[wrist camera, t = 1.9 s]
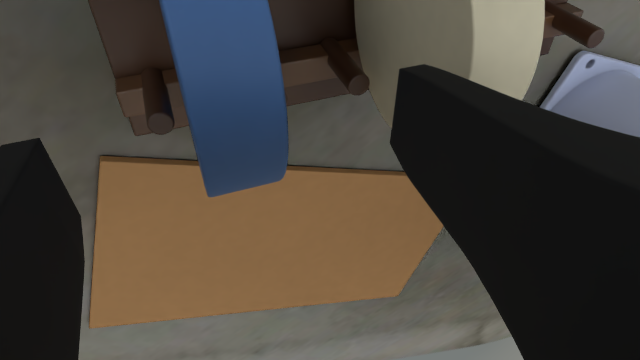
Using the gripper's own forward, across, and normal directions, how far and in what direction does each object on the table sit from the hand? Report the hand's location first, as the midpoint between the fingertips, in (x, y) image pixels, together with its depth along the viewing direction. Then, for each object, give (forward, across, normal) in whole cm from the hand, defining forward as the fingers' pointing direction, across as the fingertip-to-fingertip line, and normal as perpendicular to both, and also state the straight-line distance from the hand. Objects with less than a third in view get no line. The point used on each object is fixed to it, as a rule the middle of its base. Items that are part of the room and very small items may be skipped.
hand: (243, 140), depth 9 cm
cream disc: (+4, -7, 0) cm, 8 cm away
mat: (+8, -3, +14) cm, 17 cm away
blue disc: (+4, 0, 0) cm, 4 cm away
